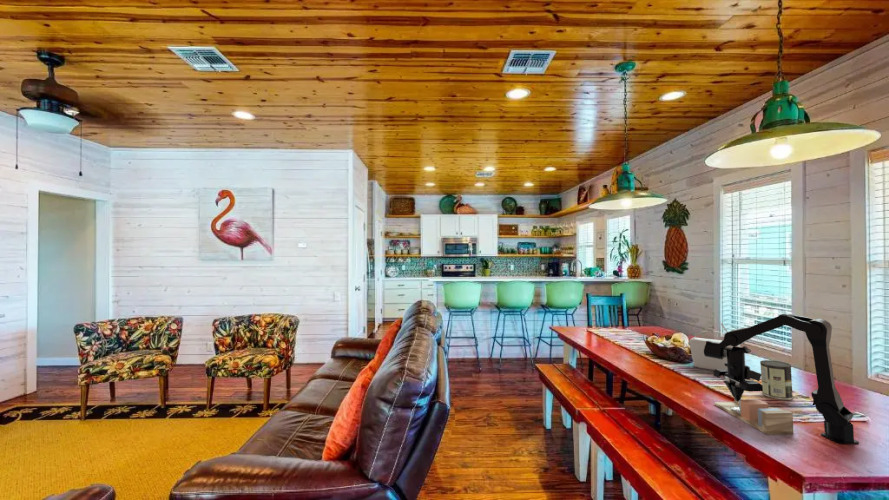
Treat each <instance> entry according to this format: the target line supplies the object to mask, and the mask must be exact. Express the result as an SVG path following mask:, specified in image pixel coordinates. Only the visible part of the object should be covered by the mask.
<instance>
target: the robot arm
mask: <svg viewBox="0 0 889 500" xmlns="http://www.w3.org/2000/svg"><path fill="white" fill-rule="evenodd" d="M784 326H786V327H790V328H792V329H794V330H797V331H801V332H803V333H805V335H806V339H807V340H808V342H809V344H810V346H811V347H812V348H811V349H812V354H813V361H814V368H815V374H816V376H815V377H816V380H817V389H816V388H815V390H813V391H812V392H811V394H810V395H811V398H812V401H813V402H812V406H815V410H816V411H817V412H819V414H821V415H822V417H823V419H824V420H823V424H824V427H823V428H824V432H820V435H821V436H823V437H824V438H827V439H829V440H831V441H833V442H836V443H837V444H839V445H840V444H841V445H843V444H845V445H849V444H850V445H851V444H859V443H860V442H859V441H858V440H856V439H855V436H854V433H855V431H854V424H853V423H852V422H851V420H852V419H853V417H854V413H853V412H852V411H851V410H849V409H848V408H847V407H846V406H845V405H844V401H843V400H842V396H841V395H840V393H839V391H838V389H837V388H836V383H835V378H834V371H833V363H832V358H831V357H832V356H831V351H830V343H831V338H832V329H833V327H832V324H831V323H830V322H829V321H828V320H826V319H823V318H814V319H813V318H811V317H806V316H801V315H795V314H792V313H787V312H785V313H781V314H779V315H778V316H775V317H773V318H770V319H768V320H764V321H762V322H760V323H757V324H754V325H752V326H748V327H742V328H738V329H737V328H736V329H733V330H730V331H727V332H725V333H724V334H725V335H724V334H723V335H724V336H723V339H722V342H720V343H718V342H713V341H706V345H705V348H704V355H705V356H706V357H711V358H716V359H723V358H725V357H726V356H727V363H724V365H725V366H727V369H715V370H712V371H713V372H712V373H713V374H712V376H714V377H715V378H717V379H718V378H719V379H720V377H724V380H723V383H724V384H725V386H726V388H727V389H728V390H729V392H730V393H731V395H732V397H733V400H734V399H735V401H739V400H740V399H741V398H742V397H743V394H744V392H752V393H753V392H762V391H763V386H762V383H760V382H761V375H762V374H761V372H758V371H755V370H752V369H751V367H750V366H748V365H746V355H745V354H750V353H752V350H751V349H750V348H748V347H747V345H744V346H742V347H741V345H743V344H744V343H746V342H748V341H750V340H752V339H753V338H754V337H756V336H759V335H762V334H765V333H768V332H771V331H773V330H776V329H778V328H781V327H784ZM730 345H731V346H734V347H732V348H729V347H727V346H730ZM738 345H740V347H736V346H738Z"/></svg>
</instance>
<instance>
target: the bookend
mask: <svg viewBox="0 0 889 500" xmlns="http://www.w3.org/2000/svg"><path fill="white" fill-rule="evenodd" d="M752 400H759V399H752ZM730 409H731V410H733V411H735V412H737V413H738V414H740V415H741V400H739V407H731V408H730Z"/></svg>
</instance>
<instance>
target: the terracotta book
mask: <svg viewBox="0 0 889 500" xmlns="http://www.w3.org/2000/svg"><path fill="white" fill-rule="evenodd" d="M766 408H769V403H767V402H765V401H763V400H761V399H758V400H753V399H744V400H741V416H742V417H744V418H746V419H748V420H750V421H751V420H758V409H766Z"/></svg>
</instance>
